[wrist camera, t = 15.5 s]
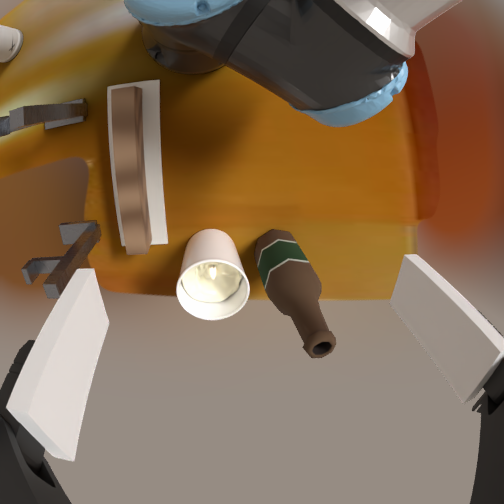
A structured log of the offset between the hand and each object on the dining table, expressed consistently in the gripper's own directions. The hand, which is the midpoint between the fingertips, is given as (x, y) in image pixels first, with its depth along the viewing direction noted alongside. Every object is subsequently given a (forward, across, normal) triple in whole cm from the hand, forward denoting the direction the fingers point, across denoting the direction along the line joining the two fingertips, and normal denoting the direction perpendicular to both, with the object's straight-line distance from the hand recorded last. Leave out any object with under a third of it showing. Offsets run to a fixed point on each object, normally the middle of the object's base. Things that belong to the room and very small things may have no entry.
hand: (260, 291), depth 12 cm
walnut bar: (+34, -13, -1) cm, 37 cm away
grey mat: (+35, -13, -1) cm, 37 cm away
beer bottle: (+35, +9, -16) cm, 40 cm away
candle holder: (+35, -2, -16) cm, 39 cm away
